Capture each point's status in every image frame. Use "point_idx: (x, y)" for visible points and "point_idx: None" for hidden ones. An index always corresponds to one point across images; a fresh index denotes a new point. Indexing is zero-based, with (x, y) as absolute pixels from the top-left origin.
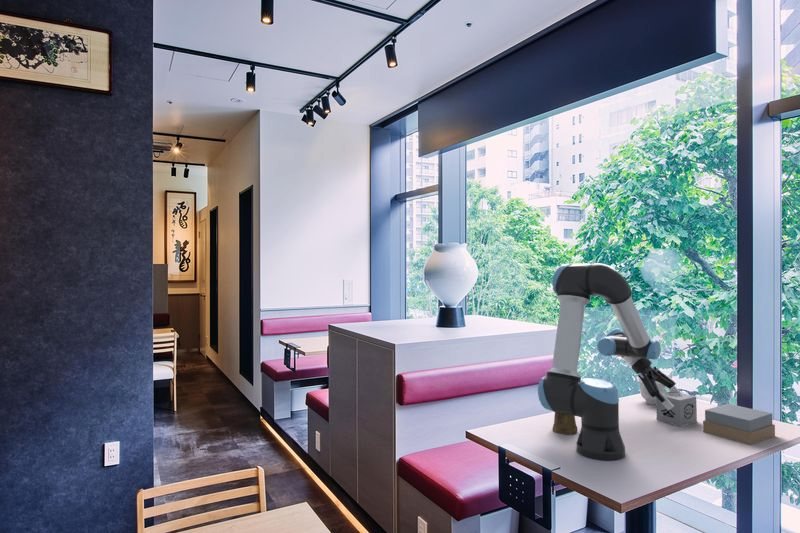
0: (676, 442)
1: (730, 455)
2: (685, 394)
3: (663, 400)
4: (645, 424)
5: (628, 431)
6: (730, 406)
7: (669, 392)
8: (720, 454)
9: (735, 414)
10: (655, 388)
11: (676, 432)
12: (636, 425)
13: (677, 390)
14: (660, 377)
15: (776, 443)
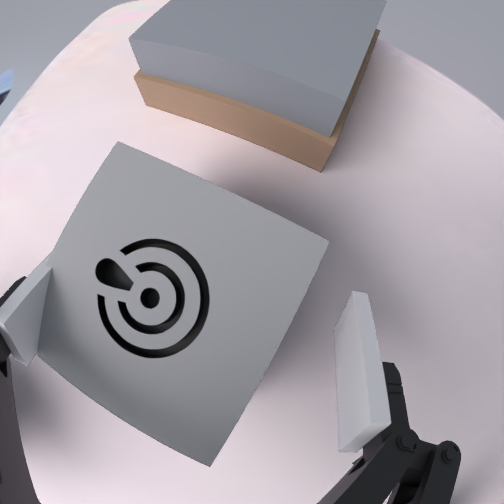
0: (495, 257)
1: (485, 118)
2: (78, 223)
3: (394, 371)
4: None
5: (463, 436)
6: (185, 22)
7: (66, 360)
8: (495, 139)
9: (333, 12)
10: (391, 486)
11: (400, 276)
12: None
13: (34, 291)
14: (6, 487)
15: None
